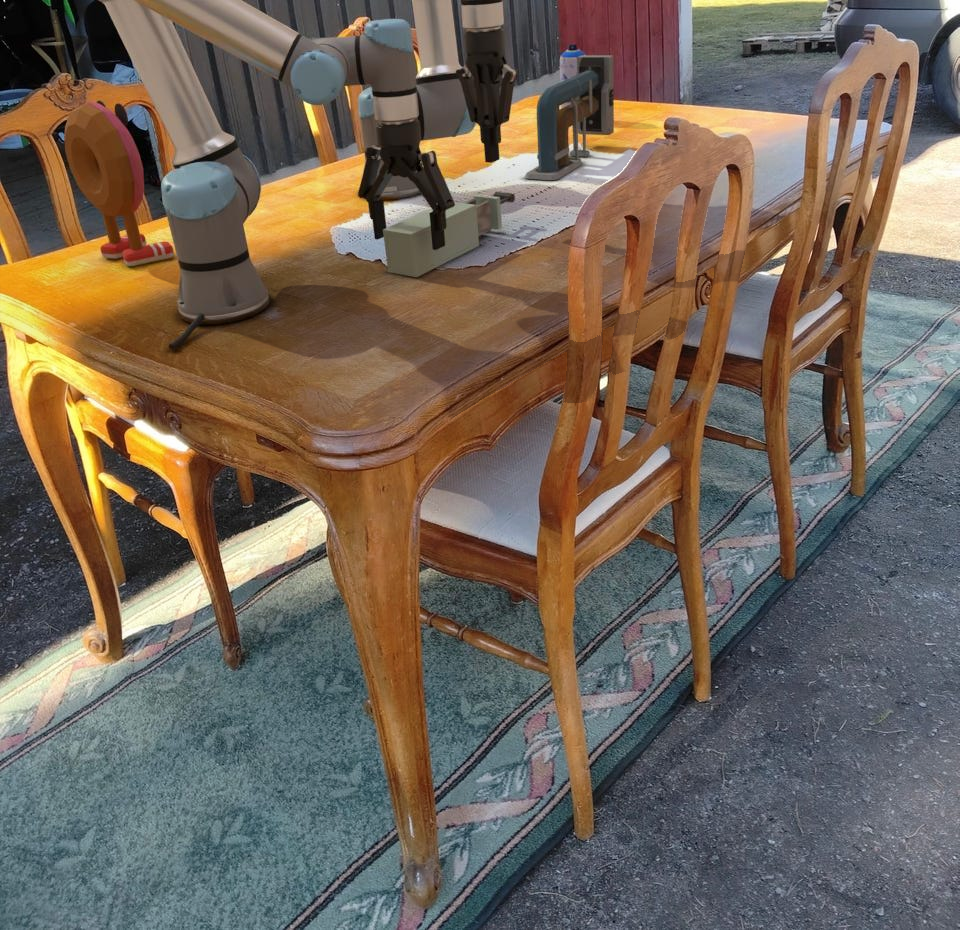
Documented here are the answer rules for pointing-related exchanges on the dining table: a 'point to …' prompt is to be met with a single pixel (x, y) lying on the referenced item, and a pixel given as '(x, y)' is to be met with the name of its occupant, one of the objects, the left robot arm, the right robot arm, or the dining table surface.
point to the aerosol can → (569, 65)
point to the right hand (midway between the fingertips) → (492, 160)
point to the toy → (111, 178)
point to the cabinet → (429, 240)
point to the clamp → (574, 116)
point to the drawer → (490, 210)
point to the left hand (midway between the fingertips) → (409, 242)
